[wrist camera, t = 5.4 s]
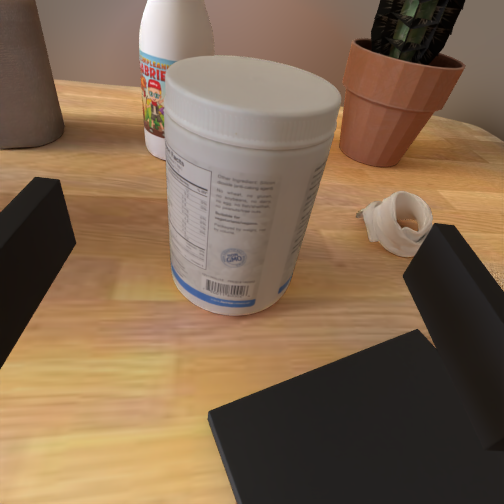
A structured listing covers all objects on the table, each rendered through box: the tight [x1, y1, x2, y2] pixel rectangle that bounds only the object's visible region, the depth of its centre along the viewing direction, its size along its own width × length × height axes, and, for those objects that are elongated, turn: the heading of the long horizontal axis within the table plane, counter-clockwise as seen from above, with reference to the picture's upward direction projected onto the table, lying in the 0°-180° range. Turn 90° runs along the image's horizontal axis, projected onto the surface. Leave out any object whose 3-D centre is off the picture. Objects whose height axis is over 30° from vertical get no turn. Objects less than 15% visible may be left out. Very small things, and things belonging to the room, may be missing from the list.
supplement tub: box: [164, 55, 341, 316], centre depth 23 cm, size 10×10×15 cm
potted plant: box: [339, 0, 465, 167], centre depth 42 cm, size 14×14×25 cm
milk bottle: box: [139, 0, 214, 160], centre depth 36 cm, size 8×8×20 cm
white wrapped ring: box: [356, 191, 433, 257], centre depth 33 cm, size 8×7×5 cm
